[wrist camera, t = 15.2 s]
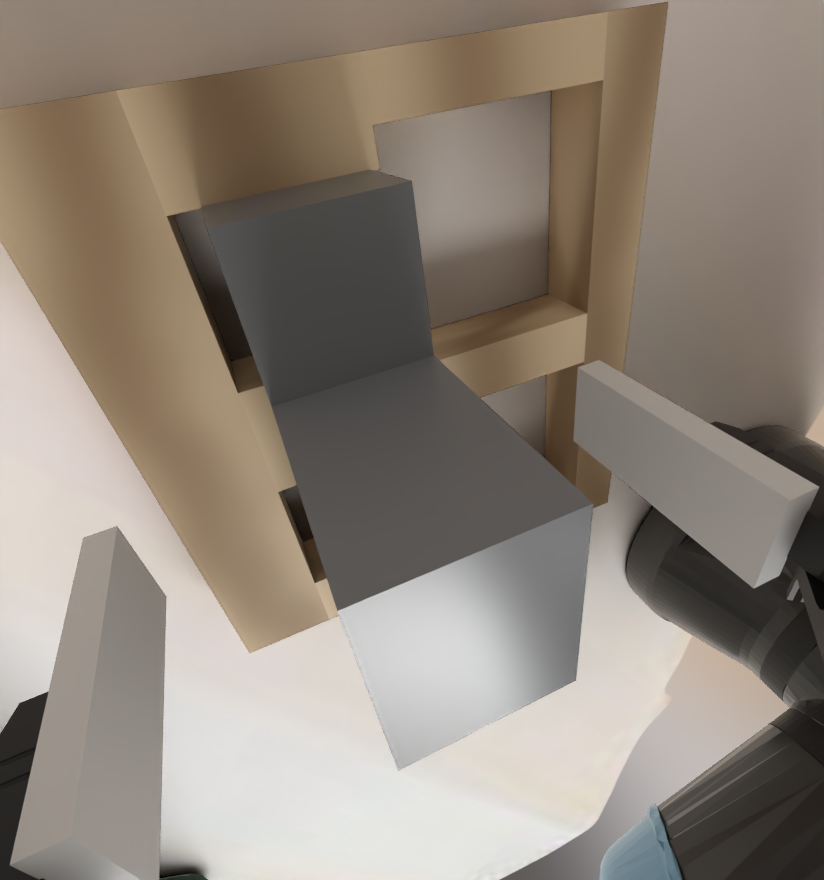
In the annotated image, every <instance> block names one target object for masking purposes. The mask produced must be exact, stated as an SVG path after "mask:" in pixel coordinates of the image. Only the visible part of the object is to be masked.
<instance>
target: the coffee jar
mask: <svg viewBox="0 0 824 880" xmlns="http://www.w3.org/2000/svg"><path fill="white" fill-rule="evenodd" d="M159 880H208V879H206V878H205V877H204V876H202V875H200V874H185V875H178V876H171V877H166V878H161V879H159Z"/></svg>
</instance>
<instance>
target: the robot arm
mask: <svg viewBox="0 0 824 880" xmlns="http://www.w3.org/2000/svg"><path fill="white" fill-rule="evenodd" d="M573 441H574V442H575V443H577V444H578V445H579V446H580V447H582V448H583V449H584V450H585V451H586V452H588V453H589V454H590V455H591V456H593V457H594V458H595V459H596V460H597V461H599V462H600V463H601V464H602V465H604V466H605V467H606V468H607V469H608V470H610V471H611V472H612V473H613V474H615V475H616V476H617V477H618V478H619V479H621V480H622V481H623V482H624V483H626V484H627V485H628V486H629V487H630V488H632V489H633V490H634V491H635V492H636V493H638V494H639V495H640V496H641V497H643V498H644V499H645V500H646V501H647V502H649V503H650V504H651V505H652V506H654V507H653V508H652V510H651V511H650V513H649V514H648V516H647V517H646V519H645V520H644V522H643V524H642V525H641V527H640V529H639V531H638V533H637V535H636V537H635V539H634V541H633V544H632V547H631V549H630V553H629V556H628V561H627V579H628V583H629V585H630V587H631V588H632V590H633V591H634V592H635V593H636V594H637V595H638V596H639V597H640V598H641V599H642V600H643V601H644V602H645V603H646V605H647V606H648V607H649V608H650V609H651V610H652V611H653V612H655V613H656V614H657V615H658V616H660V617H661V618H663V619H665V620H666V621H670V622H672V623H674V624H675V625H677V626H678V627H680V628H682V629H683V630H685V631H686V632H688V633H690V634H691V635H693V636H695V637H696V638H698V639H700V640H701V641H703V642H705V643H706V644H708V645H710V646H711V647H713V648H715V649H717V650H718V651H720V652H722V653H724V654H725V655H727V656H729V657H731V658H732V659H734V660H736V661H738V662H739V663H741V664H743V665H744V666H745V667H747V668H748V669H749V670H751V671H752V672H753V673H754V674H755V675H756V676H757V677H759V678H760V679H761V680H762V681H763V682H764V683H765V684H766V685H767V686H768V687H769V688H770V689H771V690H772V691H773V692H774V693H775V694H776V695H777V696H778V697H779V698H780V699H781V700H782V701H783V702H784V703H785V704H786V705H787V706H788V707H789V708H790V709H788V710H787V711H786V712H784V713H783V714H782V715H780V716H779V717H778V718H776V719H775V720H774V721H772V722H771V723H770V724H768V725H767V726H766V727H764V728H763V729H762V730H760V731H759V732H758V733H756V734H755V735H754V736H752V737H751V738H750V739H748V740H747V741H746V742H744V743H743V744H742V745H740V746H739V747H738V748H736V749H735V750H733V751H732V752H731V753H729V754H728V755H727V756H725V757H724V758H723V759H721V760H720V761H719V762H717V763H716V764H714V765H713V766H712V767H710V768H709V769H708V770H706V771H705V772H704V773H703V774H701V775H700V776H698V777H697V778H696V779H694V780H693V781H691V782H690V783H689V784H687V785H686V786H685V787H683V788H682V789H681V790H679V791H678V792H677V793H675V794H674V795H673V796H671V797H670V798H669V799H667V800H666V801H665V802H663V803H662V804H660V805H659V806H658V807H657V806H656V804H653V805H651V806H650V807H649V808H648V815H647V816H646V817H645V818H643V819H642V820H641V821H640V822H639V823H637V824H636V825H635V826H634V827H633V828H632V829H630V830H629V831H628V832H627V833H626V834H624V835H623V836H622V837H621V838H620V839H619V840H617V841H616V842H615V843H614V844H613V845H612V846H611V847H610V848H609V849H608V850H607V852H606V854H605V856H604V858H603V860H602V863H601V868H600V880H824V447H823V446H821V445H819V444H818V443H816V442H814V441H812V440H810V439H808V438H806V437H804V436H802V435H800V434H798V433H796V432H795V431H793V430H791V429H789V428H786V427H781V426H768V427H762V428H758V429H754V430H751V431H748V432H745V431H743V430H741V429H739V428H736V427H733V426H729V425H726V424H723V423H719V422H713V423H711V424H709V423H708V422H706V421H704V420H703V419H701V418H699V417H697V416H696V415H694V414H692V413H690V412H689V411H687V410H685V409H683V408H682V407H680V406H678V405H677V404H675V403H673V402H671V401H670V400H668V399H666V398H664V397H663V396H661V395H659V394H657V393H656V392H654V391H652V390H651V389H649V388H647V387H645V386H644V385H642V384H640V383H638V382H637V381H635V380H633V379H631V378H630V377H628V376H626V375H625V374H623V373H621V372H619V371H618V370H616V369H614V368H612V367H611V366H609V365H607V364H605V363H604V362H602V361H600V360H597V361H594V362H592V363H589V364H586V365H583V366H580V367H578V372H577V389H576V405H575V422H574V438H573ZM165 627H166V595H165V594H164V593H163V591H162V590H161V588H160V587H159V585H158V584H157V583H156V581H155V580H154V578H153V577H152V575H151V574H150V573H149V571H148V570H147V568H146V567H145V565H144V564H143V562H142V561H141V560H140V558H139V557H138V555H137V554H136V552H135V551H134V550H133V548H132V547H131V545H130V544H129V542H128V541H127V540H126V538H125V537H124V535H123V534H122V532H121V531H120V530H119V528H118V527H117V526H116V527H113V528H110V529H108V530H105V531H102V532H99V533H96V534H93V535H90V536H87V537H84V538H83V542H82V546H81V550H80V555H79V559H78V564H77V568H76V573H75V577H74V581H73V586H72V590H71V595H70V599H69V604H68V608H67V613H66V617H65V621H64V626H63V630H62V635H61V639H60V644H59V648H58V653H57V657H56V661H55V666H54V670H53V675H52V679H51V684H50V688H49V692H46V693H44V694H41V695H39V696H36V697H34V698H31V699H29V700H27V701H24V702H22V703H20V704H19V705H18V707H17V708H16V710H15V712H14V713H13V715H12V716H11V718H10V720H9V721H8V723H7V724H6V726H5V727H4V729H3V731H2V732H1V734H0V880H159V870H160V829H161V789H162V749H163V708H164V668H165Z"/></svg>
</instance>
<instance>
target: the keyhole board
mask: <svg viewBox="0 0 824 880" xmlns="http://www.w3.org/2000/svg"><path fill="white" fill-rule="evenodd" d="M667 9H668V2H664V3H657V4H651V5H645V6H639V7H632V8H626V9H620V10H614V11H608V12H601V13H595V14H589V15H583V16H576V17H570V18H564V19H558V20H552V21H545V22H539V23H533V24H527V25H520V26H514V27H508V28H502V29H496V30H489V31H483V32H477V33H471V34H464V35H458V36H452V37H446V38H440V39H433V40H427V41H421V42H415V43H408V44H402V45H396V46H390V47H384V48H377V49H371V50H365V51H359V52H352V53H346V54H340V55H334V56H328V57H321V58H315V59H309V60H303V61H296V62H290V63H284V64H278V65H272V66H265V67H259V68H253V69H247V70H241V71H234V72H228V73H222V74H216V75H209V76H203V77H197V78H191V79H185V80H178V81H172V82H166V83H160V84H153V85H147V86H141V87H135V88H129V89H122V90H116V91H110V92H104V93H97V94H91V95H85V96H79V97H73V98H66V99H60V100H54V101H48V102H41V103H35V104H29V105H23V106H17V107H10V108H4V109H0V241H1V243H2V244H3V246H4V248H5V249H6V251H7V253H8V254H9V256H10V258H11V259H12V261H13V263H14V264H15V266H16V268H17V269H18V271H19V273H20V274H21V276H22V278H23V279H24V281H25V282H26V284H27V286H28V287H29V289H30V291H31V292H32V294H33V296H34V297H35V299H36V301H37V302H38V304H39V306H40V307H41V309H42V311H43V312H44V314H45V316H46V317H47V319H48V321H49V322H50V324H51V326H52V327H53V329H54V331H55V332H56V334H57V335H58V337H59V339H60V340H61V342H62V344H63V345H64V347H65V349H66V350H67V352H68V354H69V355H70V357H71V359H72V360H73V362H74V364H75V365H76V367H77V369H78V370H79V372H80V374H81V375H82V377H83V379H84V380H85V382H86V383H87V385H88V387H89V388H90V390H91V392H92V393H93V395H94V397H95V398H96V400H97V402H98V403H99V405H100V407H101V408H102V410H103V412H104V413H105V415H106V417H107V418H108V420H109V422H110V423H111V425H112V427H113V428H114V430H115V431H116V433H117V435H118V436H119V438H120V440H121V441H122V443H123V445H124V446H125V448H126V450H127V451H128V453H129V455H130V456H131V458H132V460H133V461H134V463H135V465H136V466H137V468H138V470H139V471H140V473H141V475H142V476H143V478H144V480H145V481H146V483H147V484H148V486H149V488H150V489H151V491H152V493H153V494H154V496H155V498H156V499H157V501H158V503H159V504H160V506H161V508H162V509H163V511H164V513H165V514H166V516H167V518H168V519H169V521H170V523H171V524H172V526H173V528H174V529H175V531H176V532H177V534H178V536H179V537H180V539H181V541H182V542H183V544H184V546H185V547H186V549H187V551H188V552H189V554H190V556H191V557H192V559H193V561H194V562H195V564H196V566H197V567H198V569H199V571H200V572H201V574H202V576H203V577H204V579H205V580H206V582H207V584H208V585H209V587H210V589H211V590H212V592H213V594H214V595H215V597H216V599H217V600H218V602H219V604H220V605H221V607H222V609H223V610H224V612H225V614H226V615H227V617H228V619H229V620H230V622H231V624H232V625H233V627H234V629H235V630H236V632H237V633H238V635H239V637H240V638H241V640H242V642H243V643H244V645H245V647H246V648H247V650H248V652H249V653H251V652H254V651H256V650H259V649H261V648H263V647H266V646H268V645H270V644H273V643H275V642H277V641H280V640H282V639H285V638H287V637H289V636H292V635H294V634H296V633H299V632H301V631H304V630H306V629H308V628H311V627H313V626H315V625H318V624H320V623H322V622H325V621H327V620H330V619H332V618H334V617H337V616H339V614H338V611H337V608H336V605H335V602H334V599H333V596H332V593H331V590H330V587H329V584H328V580H327V577H326V574H325V571H324V568H323V565H322V562H321V559H320V556H319V552H318V549H317V546H316V543H315V540H314V538H312V539H309V540H307V541H304V542H302V539H301V536H300V534H299V531H298V529H297V526H296V524H295V521H294V519H293V516H292V514H291V511H290V509H289V506H288V504H287V501H286V499H285V496H284V494H283V491H282V490H285V489H288V488H291V487H294V486H296V485H297V484H296V481H295V478H294V475H293V472H292V469H291V466H290V462H289V459H288V456H287V453H286V450H285V447H284V444H283V441H282V438H281V435H280V431H279V428H278V425H277V422H276V419H275V416H274V413H273V410H272V407H271V404H270V401H269V398H268V396H267V393H266V390H265V387H264V385H263V382H262V379H261V377H260V374H259V371H258V368H257V366H256V363H255V360H254V357H253V355H252V356H248V357H245V358H241V359H238V360H234V361H231V360H230V357H229V355H228V352H227V350H226V347H225V345H224V342H223V340H222V337H221V335H220V332H219V330H218V327H217V324H216V322H215V319H214V317H213V314H212V312H211V309H210V307H209V304H208V302H207V299H206V297H205V294H204V292H203V289H202V287H201V284H200V282H199V279H198V277H197V274H196V271H195V269H194V266H193V264H192V261H191V259H190V256H189V254H188V251H187V249H186V246H185V244H184V241H183V239H182V236H181V234H180V231H179V229H178V226H177V224H176V221H175V218H174V216H173V215H174V214H178V213H183V212H188V211H192V210H197V209H201V206H205V205H210V204H214V203H219V202H224V201H228V200H233V199H237V198H242V197H246V196H251V195H256V194H260V193H265V192H269V191H274V190H279V189H283V188H288V187H292V186H297V185H302V184H306V183H311V182H315V181H320V180H324V179H329V178H334V177H338V176H343V175H347V174H352V173H357V172H361V171H366V170H373V171H375V170H380V167H379V161H378V155H377V149H376V142H375V136H374V130H373V125H378V124H383V123H388V122H393V121H398V120H403V119H408V118H413V117H418V116H423V115H428V114H433V113H438V112H444V111H449V110H454V109H459V108H464V107H469V106H474V105H479V104H484V103H489V102H494V101H499V100H505V99H510V98H515V97H520V96H525V95H530V94H535V93H540V92H545V91H550V90H552V105H551V158H550V211H549V264H548V294H547V295H544V296H541V297H537V298H534V299H531V300H527V301H524V302H521V303H517V304H514V305H511V306H507V307H504V308H501V309H498V310H494V311H491V312H488V313H484V314H481V315H478V316H474V317H471V318H468V319H464V320H461V321H458V322H454V323H451V324H448V325H445V326H441V327H438V328H435V329H431V335H432V343H433V350H434V356H435V357H436V358H438V359H439V360H440V361H441V362H442V363H443V364H444V365H445V366H446V367H447V368H448V369H449V370H450V371H451V372H453V373H454V374H455V375H456V376H457V377H458V378H459V379H460V380H461V381H462V382H463V383H464V384H465V385H467V386H468V387H469V388H470V389H471V390H472V391H473V392H474V393H475V394H476V395H477V396H478V397H479V398H480V397H483V396H486V395H489V394H492V393H495V392H498V391H501V390H504V389H506V388H509V387H512V386H515V385H518V384H521V383H524V382H527V381H530V380H533V379H536V378H538V377H541V376H544V375H546V423H545V459H546V460H547V461H548V462H549V463H550V464H551V465H552V466H553V467H555V468H556V469H557V470H558V471H559V472H560V473H561V474H562V475H563V476H564V477H565V478H566V479H567V480H568V481H570V482H571V483H572V484H573V485H574V486H575V487H576V488H577V489H578V490H579V491H580V492H581V493H582V494H584V495H585V496H586V497H587V498H588V499H589V500H590V501H591V502H592V503H593V508H595V507H597V506H599V505H602V504H604V503H607V502H608V495H609V486H610V478H611V471H610V470H608V469H607V468H606V467H605V466H604V465H602V464H601V463H600V462H599V461H597V460H596V459H595V458H594V457H593V456H591V455H590V454H589V453H588V452H586V451H585V450H584V449H583V448H582V447H580V446H579V445H578V444H577V443H575V442H574V441H573V438H574V422H575V405H576V389H577V372H578V367H580V366H583V365H586V364H589V363H592V362H594V361H597V360H600V361H602V362H604V363H605V364H607V365H609V366H611V367H612V368H614V369H616V370H618V371H619V372H621V373H623V371H624V363H625V355H626V346H627V338H628V330H629V322H630V314H631V305H632V297H633V289H634V281H635V272H636V264H637V256H638V248H639V239H640V231H641V223H642V215H643V207H644V198H645V190H646V182H647V174H648V165H649V157H650V149H651V141H652V133H653V124H654V116H655V108H656V100H657V91H658V83H659V75H660V67H661V58H662V50H663V42H664V34H665V26H666V17H667Z"/></svg>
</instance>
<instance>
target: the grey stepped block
mask: <svg viewBox="0 0 824 880" xmlns="http://www.w3.org/2000/svg"><path fill="white" fill-rule="evenodd" d="M201 209H202V213H203V217H204V221H205V225H206V229H207V231H208V234H209V237H210V240H211V242H212V245H213V248H214V251H215V253H216V256H217V259H218V262H219V264H220V267H221V270H222V272H223V275H224V278H225V281H226V283H227V286H228V289H229V292H230V294H231V297H232V300H233V303H234V305H235V308H236V311H237V314H238V316H239V319H240V322H241V324H242V327H243V330H244V333H245V335H246V338H247V341H248V344H249V346H250V349H251V352H252V355H253V357H254V360H255V363H256V366H257V368H258V371H259V374H260V377H261V379H262V382H263V385H264V387H265V390H266V393H267V396H268V398H269V401H270V404H271V407H272V410H273V413H274V416H275V419H276V422H277V425H278V428H279V431H280V435H281V438H282V441H283V444H284V447H285V450H286V453H287V456H288V459H289V462H290V466H291V469H292V472H293V475H294V478H295V481H296V484H297V487H298V490H299V494H300V497H301V500H302V503H303V506H304V509H305V512H306V515H307V518H308V521H309V525H310V528H311V531H312V534H313V537H314V540H315V543H316V546H317V549H318V552H319V556H320V559H321V562H322V565H323V568H324V571H325V574H326V577H327V580H328V584H329V587H330V590H331V593H332V596H333V599H334V602H335V605H336V608H337V611H338V614H339V617H340V619H341V622H342V624H343V627H344V630H345V632H346V635H347V638H348V640H349V643H350V645H351V648H352V651H353V653H354V656H355V658H356V661H357V664H358V666H359V669H360V671H361V674H362V677H363V679H364V682H365V685H366V687H367V690H368V692H369V695H370V698H371V700H372V703H373V705H374V708H375V711H376V713H377V716H378V719H379V721H380V724H381V726H382V729H383V732H384V734H385V737H386V739H387V742H388V745H389V747H390V750H391V753H392V755H393V758H394V760H395V763H396V766H397V768H398V771H399V770H401V769H403V768H405V767H407V766H409V765H410V764H412V763H414V762H416V761H418V760H420V759H422V758H424V757H426V756H428V755H430V754H432V753H434V752H436V751H438V750H440V749H442V748H444V747H446V746H448V745H450V744H452V743H454V742H456V741H458V740H460V739H462V738H464V737H465V736H467V735H469V734H471V733H473V732H475V731H477V730H479V729H481V728H483V727H485V726H487V725H489V724H491V723H493V722H495V721H497V720H499V719H501V718H503V717H505V716H507V715H509V714H511V713H513V712H515V711H517V710H519V709H520V708H522V707H524V706H526V705H528V704H530V703H532V702H534V701H536V700H538V699H540V698H542V697H544V696H546V695H548V694H550V693H552V692H554V691H556V690H558V689H560V688H562V687H564V686H566V685H568V684H570V683H572V682H574V681H575V680H576V674H577V664H578V654H579V643H580V633H581V623H582V613H583V603H584V592H585V582H586V572H587V562H588V552H589V542H590V531H591V521H592V511H593V503H592V502H591V501H590V500H589V499H588V498H587V497H586V496H585V495H584V494H582V493H581V492H580V491H579V490H578V489H577V488H576V487H575V486H574V485H573V484H572V483H571V482H570V481H568V480H567V479H566V478H565V477H564V476H563V475H562V474H561V473H560V472H559V471H558V470H557V469H556V468H555V467H553V466H552V465H551V464H550V463H549V462H548V461H547V460H546V459H545V458H544V457H543V456H542V455H541V454H540V453H538V452H537V451H536V450H535V449H534V448H533V447H532V446H531V445H530V444H529V443H528V442H527V441H526V440H524V439H523V438H522V437H521V436H520V435H519V434H518V433H517V432H516V431H515V430H514V429H513V428H512V427H511V426H509V425H508V424H507V423H506V422H505V421H504V420H503V419H502V418H501V417H500V416H499V415H498V414H497V413H496V412H494V411H493V410H492V409H491V408H490V407H489V406H488V405H487V404H486V403H485V402H484V401H483V400H482V399H480V398H479V397H478V396H477V395H476V394H475V393H474V392H473V391H472V390H471V389H470V388H469V387H468V386H467V385H465V384H464V383H463V382H462V381H461V380H460V379H459V378H458V377H457V376H456V375H455V374H454V373H453V372H451V371H450V370H449V369H448V368H447V367H446V366H445V365H444V364H443V363H442V362H441V361H440V360H439V359H438V358H436V357H435V356H434V350H433V343H432V335H431V327H430V319H429V311H428V304H427V296H426V288H425V280H424V273H423V265H422V257H421V249H420V241H419V234H418V226H417V218H416V210H415V203H414V195H413V187H412V181H410V180H406V179H403V178H399V177H395V176H392V175H388V174H384V173H381V172H377V171H373V170H366V171H361V172H357V173H352V174H347V175H343V176H338V177H334V178H329V179H324V180H320V181H315V182H311V183H306V184H302V185H297V186H292V187H288V188H283V189H279V190H274V191H269V192H265V193H260V194H256V195H251V196H246V197H242V198H237V199H233V200H228V201H224V202H219V203H214V204H210V205H205V206H201Z"/></svg>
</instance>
